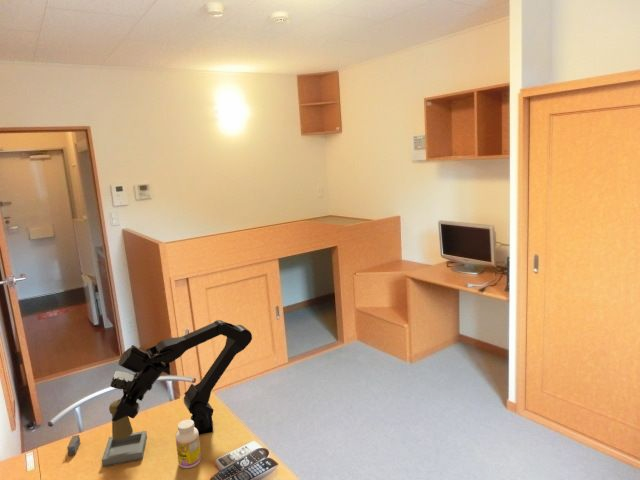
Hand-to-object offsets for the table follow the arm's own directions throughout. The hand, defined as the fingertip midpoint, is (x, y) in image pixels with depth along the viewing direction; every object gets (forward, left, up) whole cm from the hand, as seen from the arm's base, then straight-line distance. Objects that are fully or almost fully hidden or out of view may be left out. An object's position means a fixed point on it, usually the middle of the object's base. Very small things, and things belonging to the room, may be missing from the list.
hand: (114, 415), depth 139 cm
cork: (-1, 0, -7) cm, 7 cm away
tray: (-2, +1, -13) cm, 13 cm away
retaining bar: (+15, -6, -13) cm, 20 cm away
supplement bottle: (-22, +12, -13) cm, 28 cm away
